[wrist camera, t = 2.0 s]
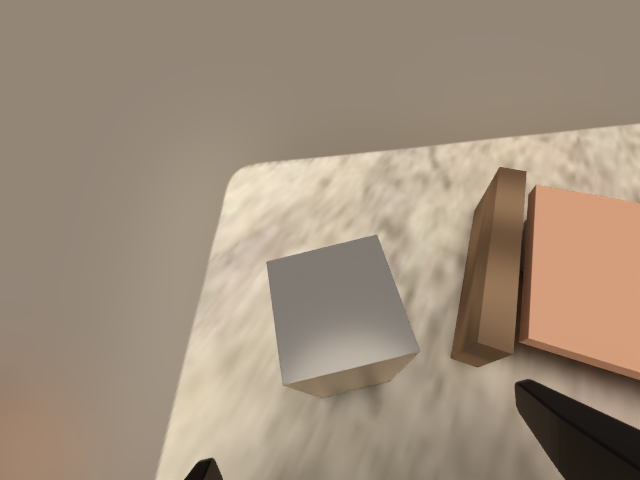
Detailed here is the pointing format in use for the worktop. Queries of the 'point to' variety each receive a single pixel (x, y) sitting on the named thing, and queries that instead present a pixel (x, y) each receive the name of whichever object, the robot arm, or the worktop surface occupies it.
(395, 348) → the gray rectangular block
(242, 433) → the worktop surface
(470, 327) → the brown bracket
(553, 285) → the trapdoor
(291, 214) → the worktop surface
